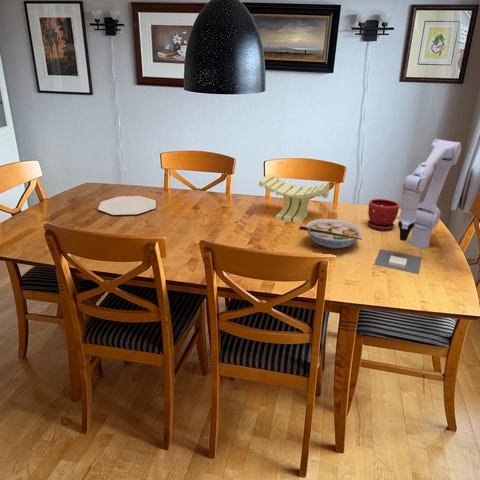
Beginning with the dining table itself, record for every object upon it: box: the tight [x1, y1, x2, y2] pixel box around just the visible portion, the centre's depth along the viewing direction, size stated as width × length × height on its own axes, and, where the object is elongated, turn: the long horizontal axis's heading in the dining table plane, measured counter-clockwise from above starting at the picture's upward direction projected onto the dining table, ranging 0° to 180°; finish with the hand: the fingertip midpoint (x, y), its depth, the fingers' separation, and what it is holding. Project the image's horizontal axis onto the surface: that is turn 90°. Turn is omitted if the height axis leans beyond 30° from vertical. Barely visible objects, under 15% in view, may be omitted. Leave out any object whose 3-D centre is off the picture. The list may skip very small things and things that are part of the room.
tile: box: [388, 256, 407, 268], centre depth 161 cm, size 2×6×6 cm
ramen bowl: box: [298, 218, 363, 249], centre depth 176 cm, size 25×23×8 cm
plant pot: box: [367, 198, 400, 231], centre depth 196 cm, size 13×13×12 cm
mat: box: [373, 248, 423, 275], centre depth 164 cm, size 16×16×1 cm
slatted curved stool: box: [258, 173, 330, 224], centre depth 204 cm, size 30×16×18 cm, turn 66°
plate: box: [97, 195, 157, 216], centre depth 213 cm, size 28×28×2 cm
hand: (403, 240), depth 165 cm, fingers closed
